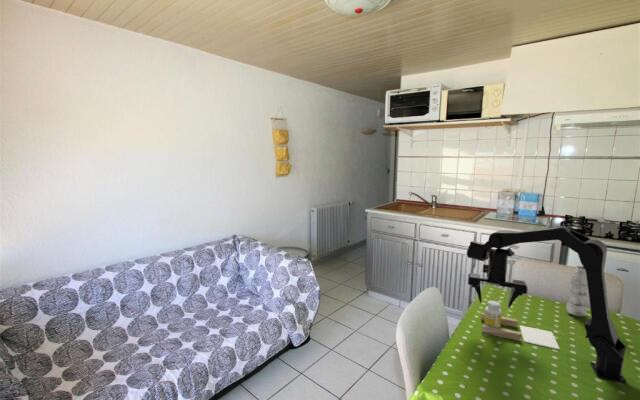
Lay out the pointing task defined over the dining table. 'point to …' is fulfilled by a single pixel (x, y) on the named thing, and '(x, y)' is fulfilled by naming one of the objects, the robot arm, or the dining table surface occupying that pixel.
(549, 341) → the white square plate
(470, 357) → the dining table surface
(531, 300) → the dining table surface
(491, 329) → the wooden lane
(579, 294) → the plastic bottle
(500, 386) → the dining table surface
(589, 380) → the dining table surface
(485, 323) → the supplement bottle
